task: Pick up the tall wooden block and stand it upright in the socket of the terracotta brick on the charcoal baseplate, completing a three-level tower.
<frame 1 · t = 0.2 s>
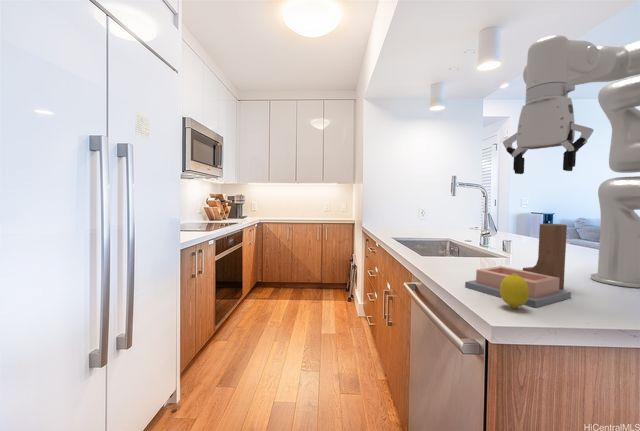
hand: (542, 172, 70), 31 cm above the counter, tool pointing down, fingers open, 9 cm apart
wooden block: (541, 286, 86), on the counter
baseplate: (515, 292, 80), on the counter
lemon: (513, 309, 68), on the counter
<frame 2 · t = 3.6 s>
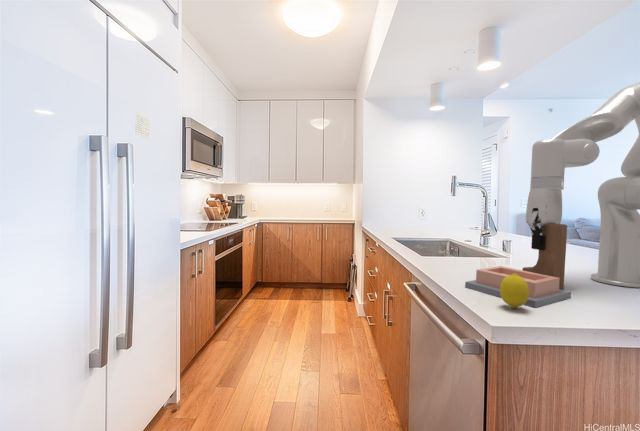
hand: (543, 248, 86), 11 cm above the counter, tool pointing down, fingers closed on wooden block, 4 cm apart
wooden block: (541, 286, 86), on the counter, touching gripper
everything else where it was.
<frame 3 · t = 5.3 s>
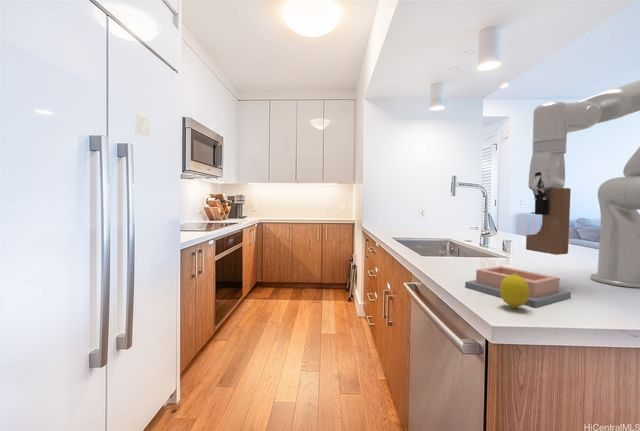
hand: (546, 213, 85), 21 cm above the counter, tool pointing down, fingers closed on wooden block, 4 cm apart
wooden block: (546, 252, 86), point 10 cm above the counter, touching gripper
everything else where it was.
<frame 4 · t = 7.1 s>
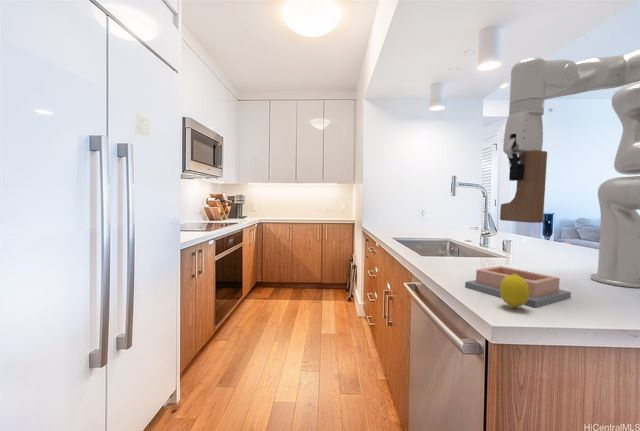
hand: (522, 180, 79), 30 cm above the counter, tool pointing down, fingers closed on wooden block, 4 cm apart
wooden block: (520, 222, 80), point 19 cm above the counter, touching gripper
everything else where it was.
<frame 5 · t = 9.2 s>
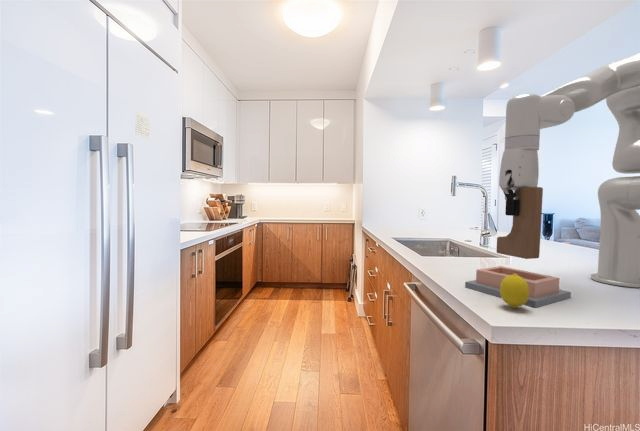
hand: (518, 214, 79), 21 cm above the counter, tool pointing down, fingers closed on wooden block, 4 cm apart
wooden block: (516, 256, 80), point 10 cm above the counter, touching gripper
everything else where it was.
when the fingers open (16 cm above the counter, at t = 10.7 s): wooden block drops 2 cm, resting on baseplate.
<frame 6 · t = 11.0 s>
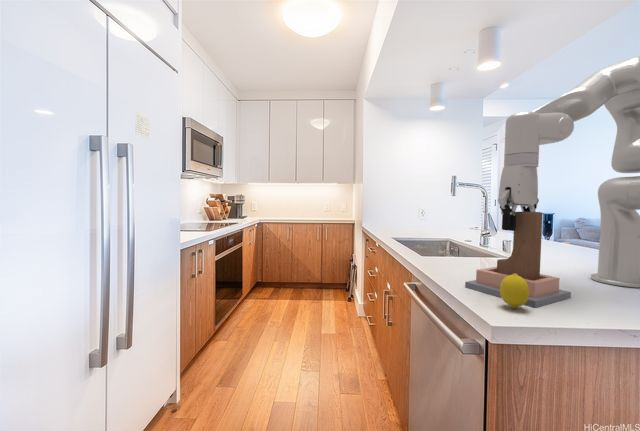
hand: (517, 229, 79), 17 cm above the counter, tool pointing down, fingers open, 7 cm apart
wooden block: (517, 279, 80), point 3 cm above the counter, touching baseplate
everything else where it was.
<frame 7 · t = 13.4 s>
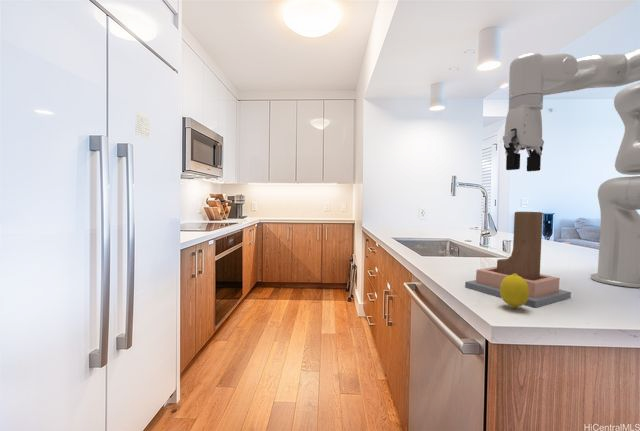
hand: (523, 170, 81), 32 cm above the counter, tool pointing down, fingers open, 9 cm apart
nothing on the counter moved.
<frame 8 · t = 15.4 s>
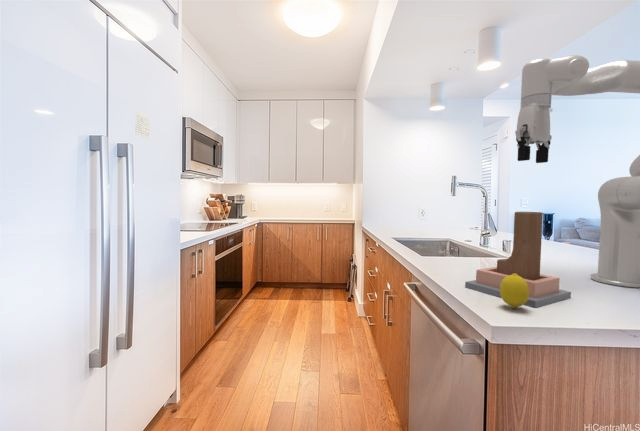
hand: (532, 161, 91), 36 cm above the counter, tool pointing down, fingers open, 9 cm apart
nothing on the counter moved.
at the end: wooden block 0.7 cm off-centre on the baseplate, point 3.3 cm above the baseplate's base; wooden block tilted 0°; the gripper is holding nothing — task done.
